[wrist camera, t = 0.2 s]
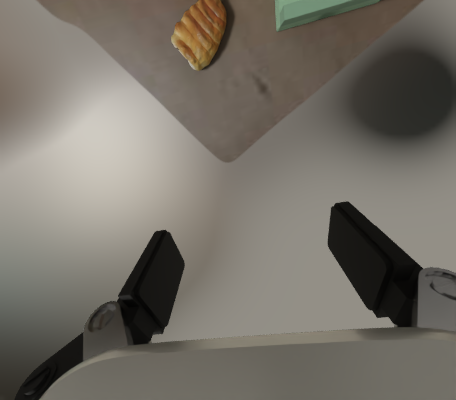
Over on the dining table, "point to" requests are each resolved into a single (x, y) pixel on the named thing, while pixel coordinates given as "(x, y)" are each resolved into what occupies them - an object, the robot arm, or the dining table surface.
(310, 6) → the mat
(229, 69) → the dining table surface
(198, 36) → the pastry
